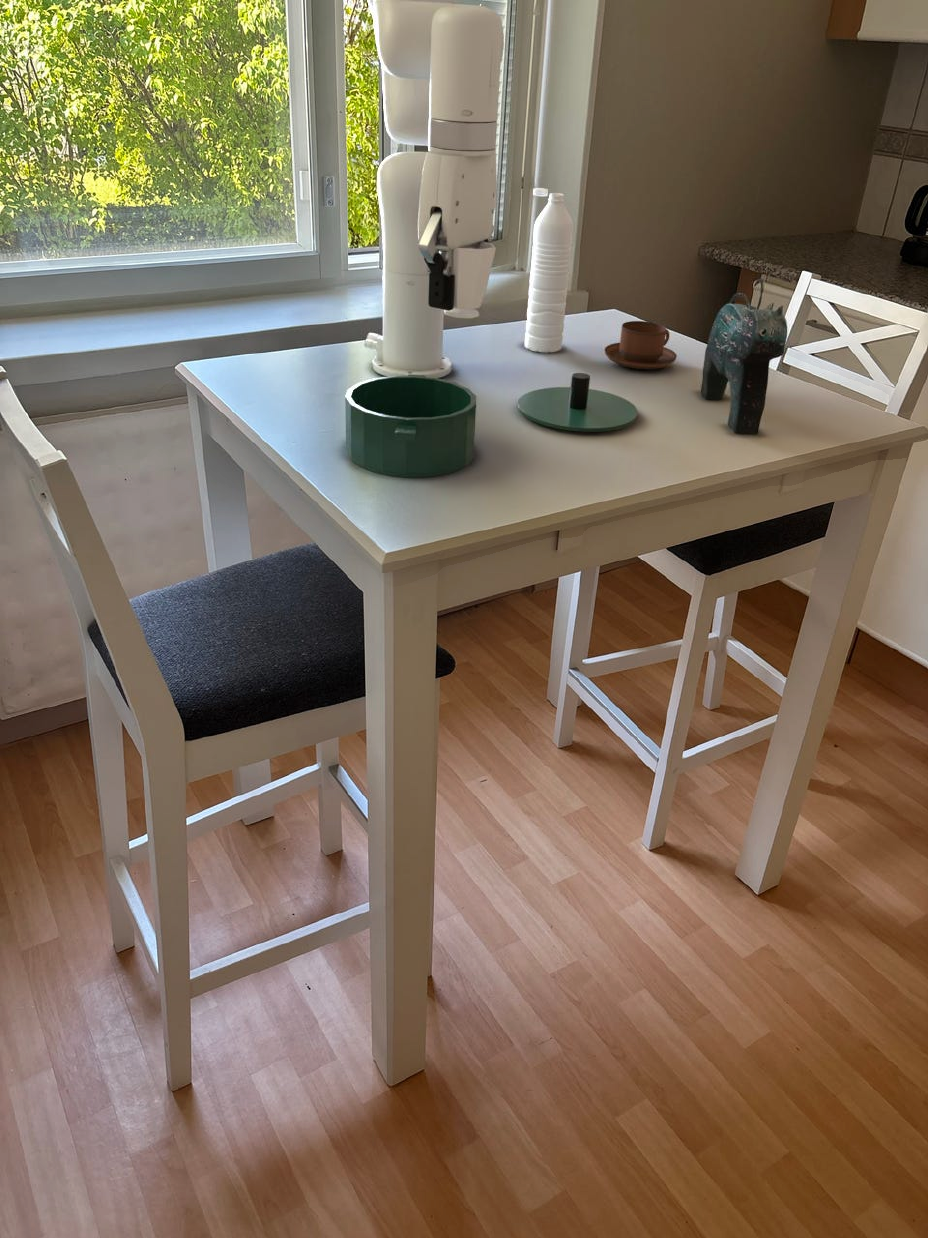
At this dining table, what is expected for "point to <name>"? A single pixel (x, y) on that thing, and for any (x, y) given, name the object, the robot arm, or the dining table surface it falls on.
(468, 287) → the cup
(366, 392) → the pot
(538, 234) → the water bottle
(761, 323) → the ceramic cat
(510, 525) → the dining table surface
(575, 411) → the pot lid
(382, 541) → the dining table surface
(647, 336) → the cup and saucer
